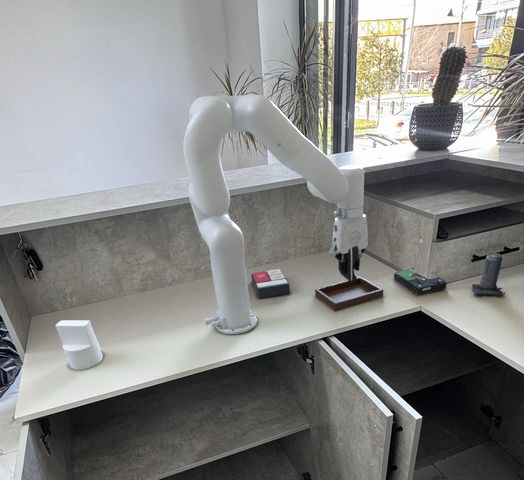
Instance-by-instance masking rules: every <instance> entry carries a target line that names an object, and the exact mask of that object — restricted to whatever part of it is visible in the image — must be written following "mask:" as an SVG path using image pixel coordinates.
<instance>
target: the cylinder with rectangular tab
mask: <svg viewBox="0 0 524 480" xmlns="http://www.w3.org/2000/svg"><path fill="white" fill-rule="evenodd" d="M55 328H56V331H57V334H58V336H59V339H60V342H61V344H62V349H63V352H64V354H65V357H66V359H67V362H68V364H69V367H70V368H71V369H73V370H85V369H89V368H92V367H94V366H96V365H97V364H99V363H100V362H101V361H102V360H103V358H104V357H103V356H104V355H103V353H102V349H101V347H100V344H99V341H98V338H97V336H96V334H95V332H94V329H93V326H92V323H91V321H90V320H89V319H87V320H83V319H82V320H78V319H77V320H73V319H71V320H67V319H66V320H65V319H62V320H60V321H58V322H57V323H56V324H55Z"/></svg>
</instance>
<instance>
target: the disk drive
mask: <svg viewBox="0 0 524 480" xmlns="http://www.w3.org/2000/svg"><path fill="white" fill-rule="evenodd" d="M409 269H410V268H406V269H404V270H403V269H402V270H399V271H395V272H394V273H393V279H394V280H395V281H397V282H398V283H400V284H401V285H403V286H404V287H406V288H407V289H409V290H410V291H411V292H412V293H415V294H416V295H418V296H420V295H424V294H429V293H433V292H437V291H442V290H445V289H447V281H446V280H445V279H443V278H441V277H439V276H438V277H437V278H433V279H427V278H425V277H423V276H421V275H419V274H417V273H415V272H413V271H411V270H409Z"/></svg>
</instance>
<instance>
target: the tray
mask: <svg viewBox="0 0 524 480" xmlns="http://www.w3.org/2000/svg"><path fill="white" fill-rule="evenodd" d="M314 296H315V298H317V299H318V300H319V301H321V302H323V303H324V304H325V305H327V307H329V308H330V309H332V310H333V311H334V312H337V311H340V310H344V309H348V308H351V307H354V306H355V307H356V306H358V305H362V304H364V303H369V302H371V301H375V300H377V299H380V298H383V297H384V288H381V287H380V286H379V285H376V284H375V283H373V282H371V281H369V280H367V279H366V278H364V277H363V276H357V278H356V279H354V280H351V281H349V280H347V279H346V280H342V281H339V282H336V283H335V282H334V283H332V284H328V285H325V286H321V287H318V288H315V289H314Z"/></svg>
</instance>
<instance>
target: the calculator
mask: <svg viewBox="0 0 524 480" xmlns="http://www.w3.org/2000/svg"><path fill="white" fill-rule="evenodd" d="M250 277H251V283H252V285H253V289H254V290H255V293H256V297H257V299H264V298H271V297H277V296H278V297H279V296H284V295H289V294H291V289H290V288H291V287H290V282H289V281H288V279H287V278H286V276H285V274H284V272H283V271H282V270H281V269H280V268H277V269H276V268H275V269H271V270H270V269H269V270H266V271H265V270H264V271H263V270H262V271H258V272H257V271H256V272H252V273H251V274H250Z"/></svg>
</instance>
